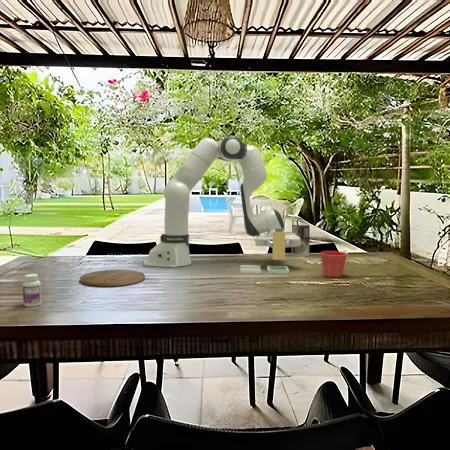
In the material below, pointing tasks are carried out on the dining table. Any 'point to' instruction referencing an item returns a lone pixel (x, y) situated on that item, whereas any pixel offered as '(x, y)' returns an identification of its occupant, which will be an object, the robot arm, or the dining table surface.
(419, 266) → the dining table surface
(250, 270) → the socket
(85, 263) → the dining table surface
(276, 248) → the tan tall block
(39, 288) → the pill bottle
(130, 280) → the trivet
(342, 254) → the flower pot
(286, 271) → the socket
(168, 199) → the robot arm
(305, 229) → the coffee box
